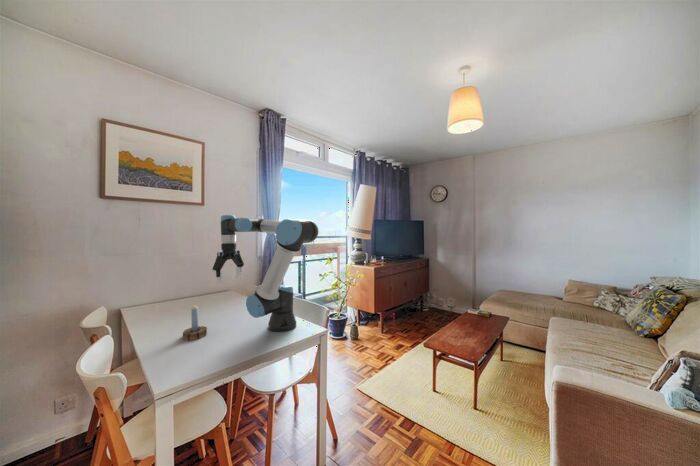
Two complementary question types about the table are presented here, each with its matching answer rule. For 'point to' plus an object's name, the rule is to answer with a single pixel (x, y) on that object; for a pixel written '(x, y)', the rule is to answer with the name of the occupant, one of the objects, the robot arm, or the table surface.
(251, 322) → the table surface
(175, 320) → the table surface
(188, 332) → the wooden gear
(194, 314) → the dowel
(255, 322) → the table surface
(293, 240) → the robot arm
